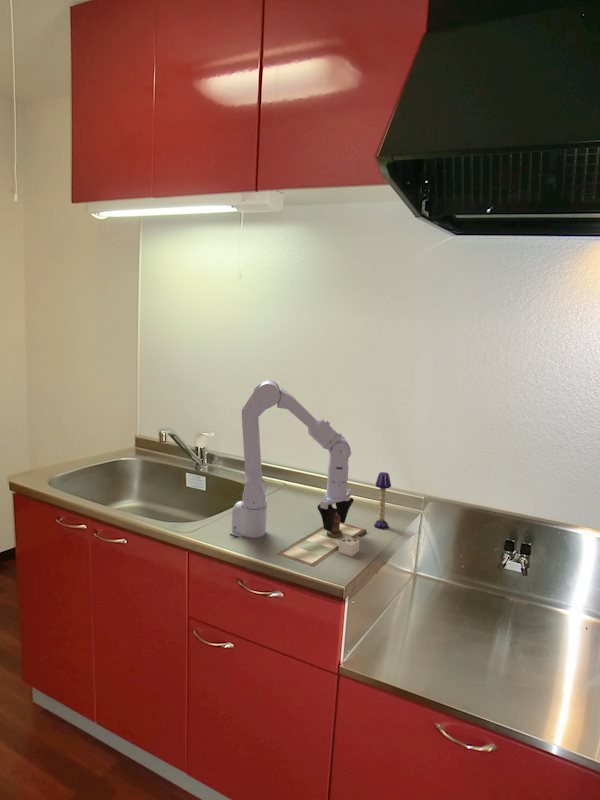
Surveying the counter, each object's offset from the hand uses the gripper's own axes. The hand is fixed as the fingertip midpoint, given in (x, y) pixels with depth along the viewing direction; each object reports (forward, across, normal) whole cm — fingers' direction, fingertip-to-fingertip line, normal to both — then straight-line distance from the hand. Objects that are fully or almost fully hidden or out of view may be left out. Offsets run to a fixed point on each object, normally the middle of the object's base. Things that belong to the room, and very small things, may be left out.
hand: (334, 526), depth 149 cm
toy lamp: (+4, +17, -7) cm, 18 cm away
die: (+3, -7, -8) cm, 12 cm away
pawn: (+3, 0, 0) cm, 3 cm away
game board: (+3, -6, 0) cm, 6 cm away
